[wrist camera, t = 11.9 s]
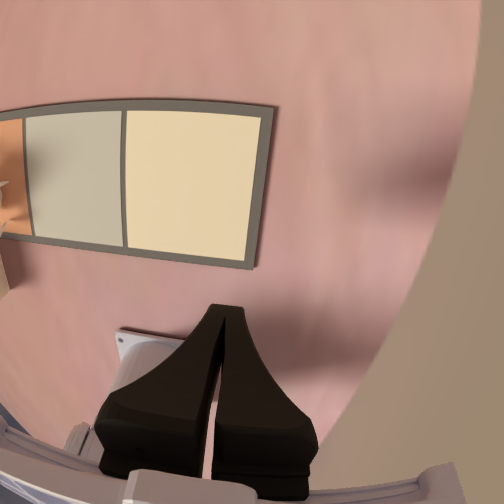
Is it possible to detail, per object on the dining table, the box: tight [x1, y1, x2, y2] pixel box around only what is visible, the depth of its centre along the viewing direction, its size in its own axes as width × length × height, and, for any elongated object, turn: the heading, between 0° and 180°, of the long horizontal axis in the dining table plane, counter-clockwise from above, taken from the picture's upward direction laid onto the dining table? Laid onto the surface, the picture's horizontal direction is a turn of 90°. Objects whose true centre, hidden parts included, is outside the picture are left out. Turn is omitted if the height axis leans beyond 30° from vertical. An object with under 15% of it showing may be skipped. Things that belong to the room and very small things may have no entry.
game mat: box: [0, 100, 274, 270], centre depth 20 cm, size 11×27×1 cm, turn 84°
